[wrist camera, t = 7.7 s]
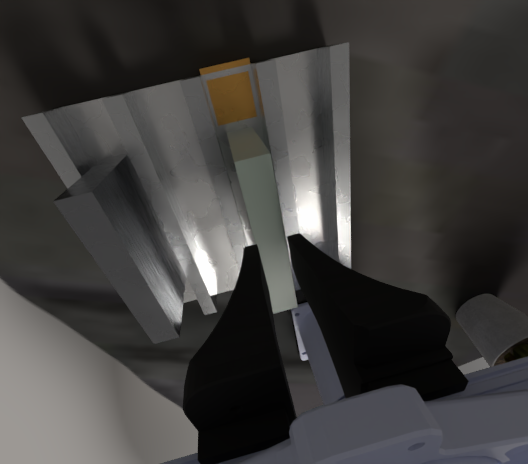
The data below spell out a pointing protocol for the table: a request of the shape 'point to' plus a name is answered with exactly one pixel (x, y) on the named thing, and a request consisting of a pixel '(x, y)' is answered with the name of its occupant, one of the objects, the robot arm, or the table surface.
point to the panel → (264, 214)
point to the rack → (201, 175)
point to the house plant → (495, 328)
